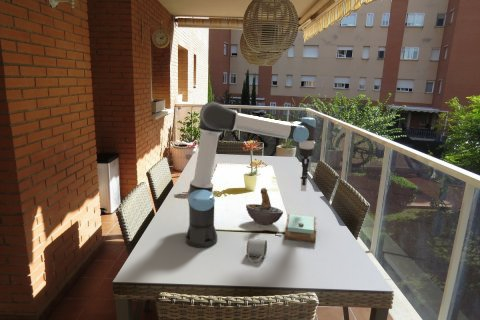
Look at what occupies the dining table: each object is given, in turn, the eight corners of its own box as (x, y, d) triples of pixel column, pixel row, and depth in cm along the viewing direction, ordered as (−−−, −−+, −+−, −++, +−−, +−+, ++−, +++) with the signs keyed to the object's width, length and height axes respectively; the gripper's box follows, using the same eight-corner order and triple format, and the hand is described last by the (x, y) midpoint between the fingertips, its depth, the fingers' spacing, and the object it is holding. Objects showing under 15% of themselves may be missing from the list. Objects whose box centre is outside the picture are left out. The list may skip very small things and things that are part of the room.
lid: (313, 234, 166) (314, 228, 165) (287, 231, 168) (288, 225, 168) (313, 220, 182) (313, 215, 181) (289, 218, 184) (290, 212, 184)
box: (315, 242, 167) (316, 230, 165) (284, 239, 170) (285, 227, 168) (315, 227, 184) (316, 216, 183) (287, 224, 187) (287, 213, 185)
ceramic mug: (249, 250, 157) (249, 234, 156) (266, 252, 156) (267, 237, 154) (244, 262, 147) (244, 245, 146) (263, 264, 146) (263, 248, 144)
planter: (244, 219, 192) (245, 184, 187) (271, 216, 198) (273, 182, 193) (254, 230, 178) (256, 193, 174) (283, 226, 184) (286, 190, 180)
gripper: (314, 153, 166) (310, 195, 171) (313, 144, 190) (310, 181, 195) (298, 152, 168) (295, 193, 172) (299, 143, 192) (297, 180, 196)
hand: (303, 187), depth 184 cm, fingers open, 13 cm apart
